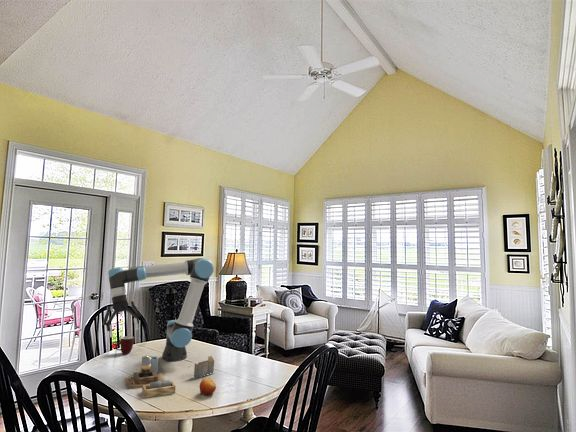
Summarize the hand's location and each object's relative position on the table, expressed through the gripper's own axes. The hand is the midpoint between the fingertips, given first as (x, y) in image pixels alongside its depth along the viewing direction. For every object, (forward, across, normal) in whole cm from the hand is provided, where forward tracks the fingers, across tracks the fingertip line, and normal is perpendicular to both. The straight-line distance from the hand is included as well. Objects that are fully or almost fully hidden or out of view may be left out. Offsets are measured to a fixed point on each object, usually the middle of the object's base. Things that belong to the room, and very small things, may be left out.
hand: (124, 333), depth 197 cm
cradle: (+25, -2, +16) cm, 30 cm away
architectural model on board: (+32, -30, +24) cm, 50 cm away
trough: (+29, -1, +33) cm, 44 cm away
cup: (+24, -10, +3) cm, 26 cm away
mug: (+15, -9, -37) cm, 41 cm away
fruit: (+35, -19, +47) cm, 62 cm away
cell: (+24, -2, +16) cm, 29 cm away
